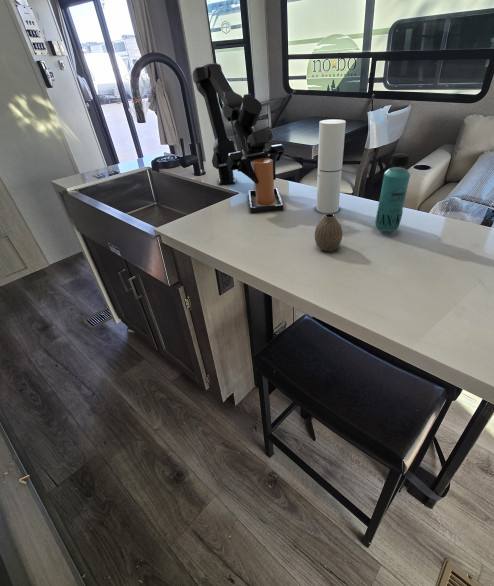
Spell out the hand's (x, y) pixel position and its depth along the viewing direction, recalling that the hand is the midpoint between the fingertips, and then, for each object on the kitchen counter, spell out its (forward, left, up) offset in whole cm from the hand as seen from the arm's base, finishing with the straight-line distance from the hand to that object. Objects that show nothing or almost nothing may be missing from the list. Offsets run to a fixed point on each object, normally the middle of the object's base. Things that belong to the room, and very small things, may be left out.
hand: (266, 181), depth 98 cm
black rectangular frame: (-5, -1, -9) cm, 10 cm away
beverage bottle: (+24, +31, -9) cm, 40 cm away
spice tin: (-1, -1, -7) cm, 7 cm away
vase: (+30, +13, -9) cm, 34 cm away
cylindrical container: (+5, +19, -9) cm, 21 cm away
